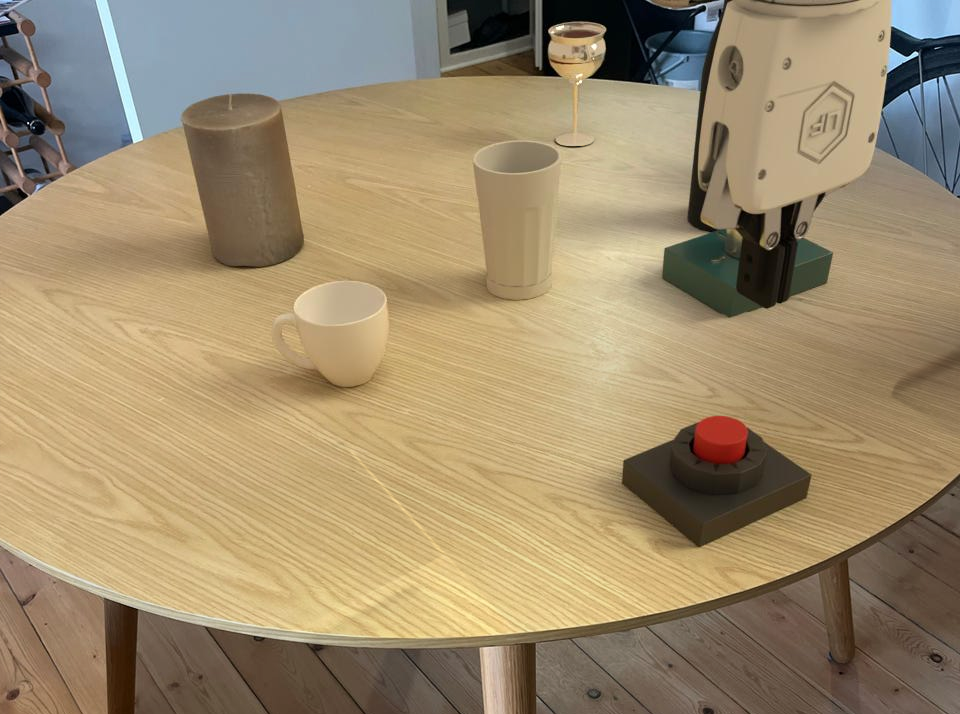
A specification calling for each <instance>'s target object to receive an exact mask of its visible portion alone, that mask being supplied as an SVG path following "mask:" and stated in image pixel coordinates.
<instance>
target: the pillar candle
mask: <svg viewBox="0 0 960 714" xmlns="http://www.w3.org/2000/svg"><path fill="white" fill-rule="evenodd" d="M180 121H181V123H182V125H183V126H182V127H183V131H184V135H185V138H186V143H187V149H188V152H189V157H190V162H191V166H192V169H193V175H194V179H195V183H196V187H197V192H198V196H199V201H200V205H201V209H202V213H203V217H204V222H205V226H206V231H207V235H208V239H209V243H210V248H211V252H212V255H213V257H214V259H216V260H217V262H219V263H222V264H223V265H225V266H230V267H255V268H258V267H260V268H261V267H267V266H269V267H270V266H272V265H276V264H279V263H282V262H285V261H287V260H289V259H291V258H293V257H294V256H295V255H297V254H298V253H299V252H300V251H301V249H302V248H303V245H304V242H305V240H304V239H305V238H304V237H305V235H304V232H303V226H302V220H301V213H300V208H299V202H298V196H297V189H296V184H295V178H294V173H293V167H292V162H291V155H290V150H289V144H288V139H287V133H286V128H285V121H284V116H283V111H282V105H281V104H280V102H279V101H278V100H277V99H276V98H274V97H272V96H269V95H264V94H261V93H260V94H259V93H258V94H257V93H239V92H238V93H229V94H228V93H227V94H222V95H215V96H212V97H207V98H205V99H201V100H199V101H196V102H194V103H192V104H190V105H189V106H188V107H186V108H185V109H184V110H183V111H182V113H181V117H180Z"/></svg>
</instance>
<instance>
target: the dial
mask: <svg viewBox="0 0 960 714" xmlns="http://www.w3.org/2000/svg"><path fill="white" fill-rule="evenodd" d="M741 244H742V237H741V236H739V235H738V234H736V233H735V229H727V232H726V240H725V247H724V249H725V252H726V253H727V254H729V255H730V256H732V257H735V258H738V259H740V252H741Z"/></svg>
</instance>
